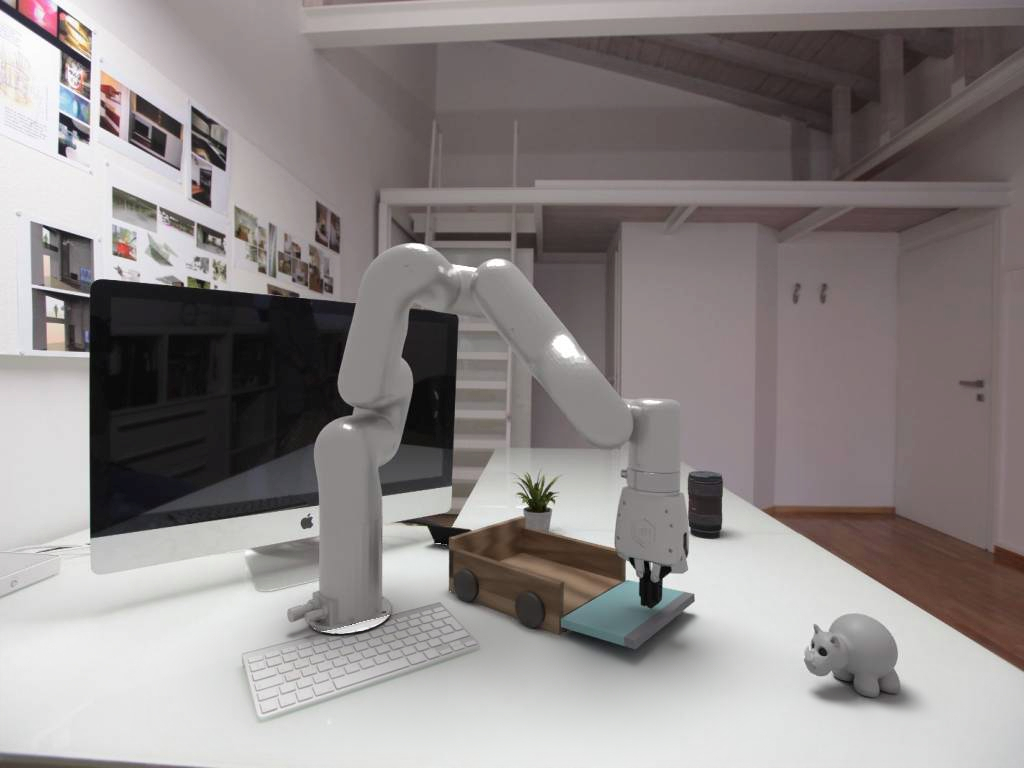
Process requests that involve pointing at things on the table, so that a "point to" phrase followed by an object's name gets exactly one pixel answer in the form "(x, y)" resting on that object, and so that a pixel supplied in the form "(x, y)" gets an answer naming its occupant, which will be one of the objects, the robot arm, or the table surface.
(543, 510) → the house plant
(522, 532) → the hand cart
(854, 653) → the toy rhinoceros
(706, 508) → the camera lens
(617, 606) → the panel
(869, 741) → the table surface
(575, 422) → the robot arm
